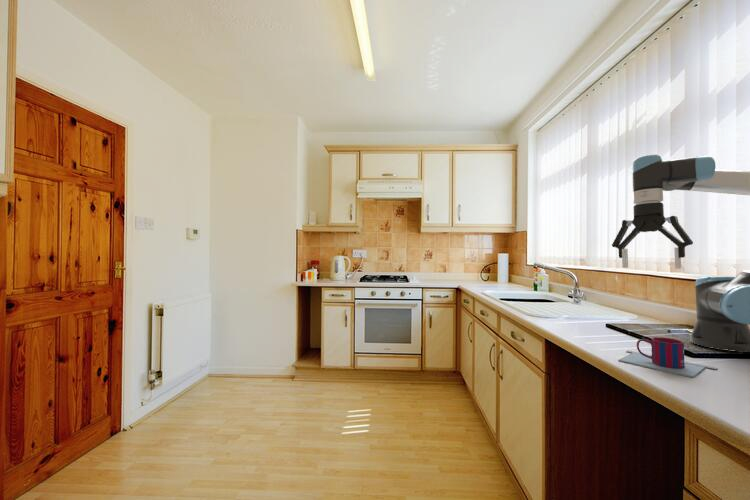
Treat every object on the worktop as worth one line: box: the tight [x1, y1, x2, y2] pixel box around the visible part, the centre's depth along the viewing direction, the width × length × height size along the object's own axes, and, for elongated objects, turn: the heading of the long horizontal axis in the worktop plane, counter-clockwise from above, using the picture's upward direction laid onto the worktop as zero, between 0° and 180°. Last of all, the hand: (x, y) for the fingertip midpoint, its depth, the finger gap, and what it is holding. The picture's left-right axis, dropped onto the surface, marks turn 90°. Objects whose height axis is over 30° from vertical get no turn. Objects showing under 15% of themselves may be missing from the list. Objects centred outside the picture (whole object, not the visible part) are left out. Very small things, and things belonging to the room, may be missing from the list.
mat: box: [617, 353, 706, 379], centre depth 90 cm, size 11×16×1 cm
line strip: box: [625, 349, 719, 371], centre depth 94 cm, size 2×20×1 cm, turn 33°
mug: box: [636, 336, 685, 369], centre depth 90 cm, size 7×10×7 cm
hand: (650, 268), depth 104 cm, fingers open, 13 cm apart
